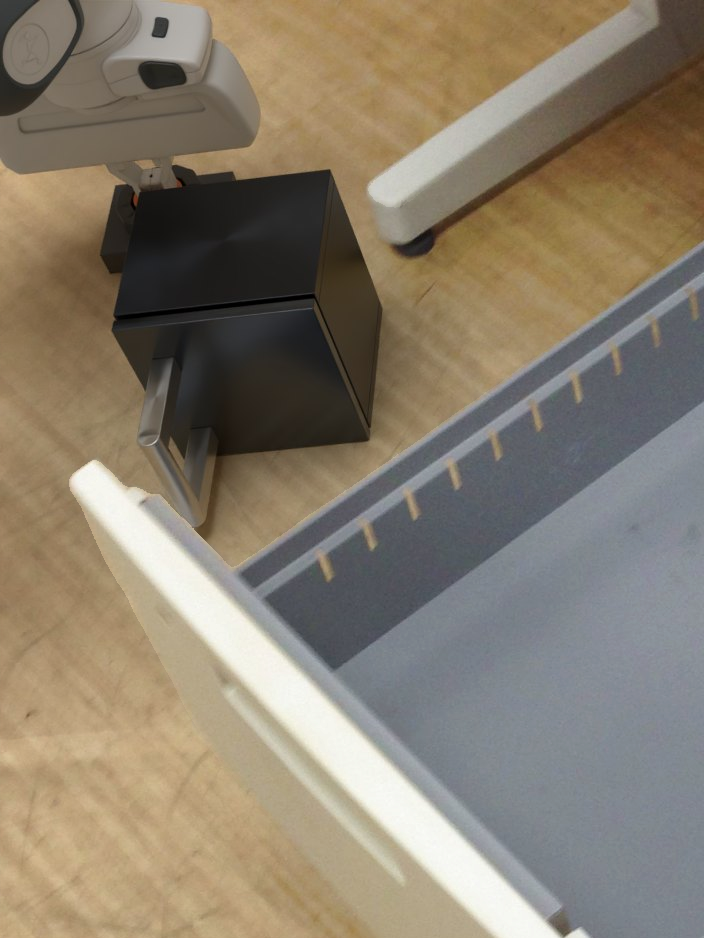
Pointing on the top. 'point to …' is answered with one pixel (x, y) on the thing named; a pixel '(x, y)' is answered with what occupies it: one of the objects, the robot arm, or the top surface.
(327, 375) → the cupboard door
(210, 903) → the top surface
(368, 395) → the cupboard
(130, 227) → the release block
